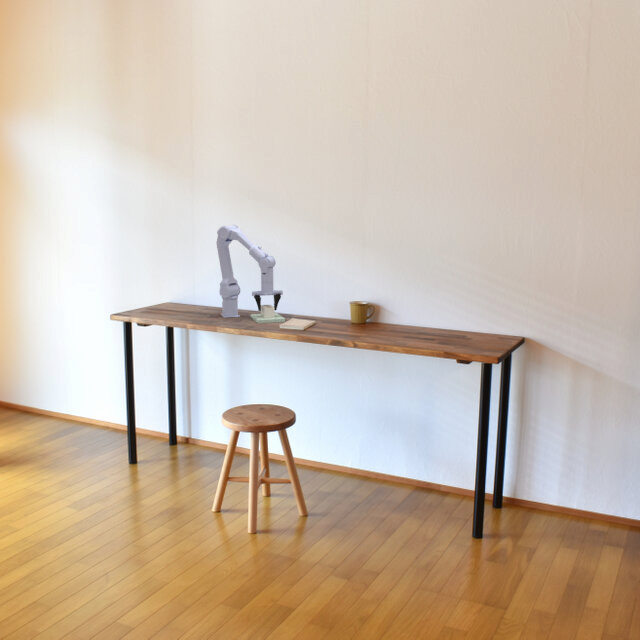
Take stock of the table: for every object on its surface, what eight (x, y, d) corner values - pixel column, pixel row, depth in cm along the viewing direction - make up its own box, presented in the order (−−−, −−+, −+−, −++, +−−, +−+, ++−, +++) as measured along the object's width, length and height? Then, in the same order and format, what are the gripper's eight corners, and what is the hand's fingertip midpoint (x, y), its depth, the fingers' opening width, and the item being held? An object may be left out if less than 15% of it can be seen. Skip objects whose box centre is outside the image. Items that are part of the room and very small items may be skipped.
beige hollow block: (260, 315, 376) (260, 304, 375) (269, 314, 378) (269, 304, 377) (265, 318, 368) (265, 307, 367) (274, 317, 369) (274, 307, 368)
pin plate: (250, 317, 379) (250, 307, 378) (276, 316, 383) (276, 306, 382) (257, 323, 364) (257, 312, 363) (285, 321, 368) (285, 311, 367)
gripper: (254, 283, 364) (254, 312, 366) (284, 282, 368) (284, 311, 371) (250, 281, 371) (251, 310, 373) (280, 280, 375) (280, 308, 377)
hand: (267, 310), depth 372 cm, fingers open, 7 cm apart
